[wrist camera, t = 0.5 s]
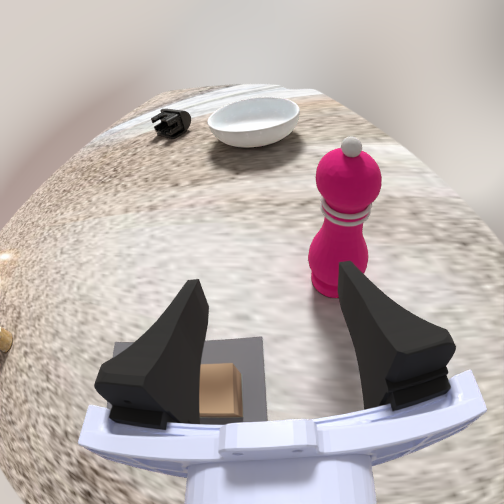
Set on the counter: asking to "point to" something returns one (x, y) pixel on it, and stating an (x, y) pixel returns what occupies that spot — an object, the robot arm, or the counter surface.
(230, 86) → the counter surface
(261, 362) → the mat
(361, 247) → the pepper mill
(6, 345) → the sprinkles bottle
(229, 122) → the serving bowl
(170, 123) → the end cap
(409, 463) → the counter surface
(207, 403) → the cube
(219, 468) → the robot arm
